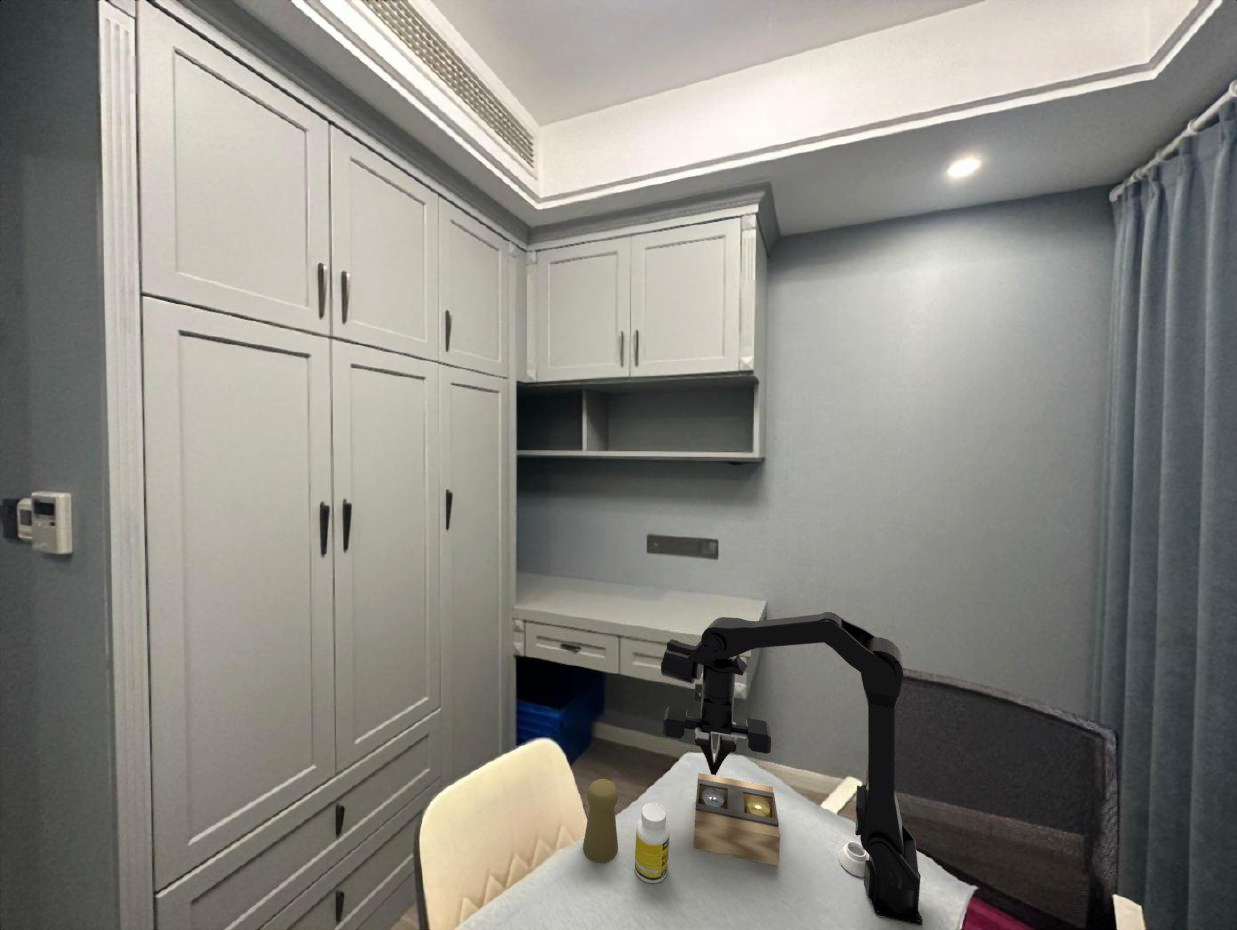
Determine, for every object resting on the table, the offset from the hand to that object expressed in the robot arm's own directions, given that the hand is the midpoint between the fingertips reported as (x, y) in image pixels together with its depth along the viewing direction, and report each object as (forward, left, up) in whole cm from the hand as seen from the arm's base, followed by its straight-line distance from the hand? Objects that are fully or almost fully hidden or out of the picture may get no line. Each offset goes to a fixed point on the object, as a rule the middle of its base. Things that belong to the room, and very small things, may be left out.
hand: (713, 773), depth 87 cm
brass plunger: (-8, 0, -10) cm, 13 cm away
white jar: (-24, +2, -10) cm, 26 cm away
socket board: (-4, 0, -10) cm, 10 cm away
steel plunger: (0, 0, -10) cm, 10 cm away
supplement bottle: (+9, +12, -10) cm, 18 cm away
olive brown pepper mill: (+18, +10, -10) cm, 23 cm away
